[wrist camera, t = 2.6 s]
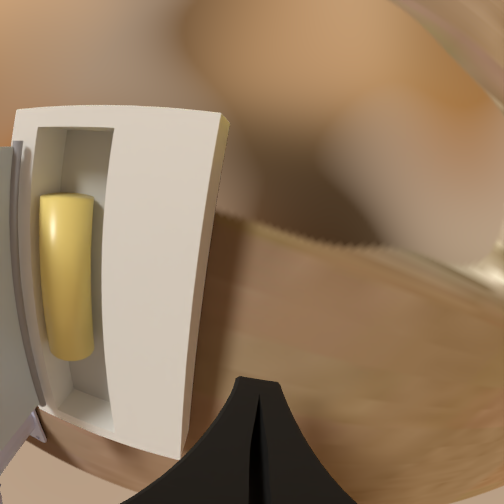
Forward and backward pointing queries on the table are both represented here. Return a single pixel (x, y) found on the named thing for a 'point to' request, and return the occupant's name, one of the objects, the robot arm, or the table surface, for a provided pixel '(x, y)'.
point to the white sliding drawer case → (125, 260)
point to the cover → (13, 310)
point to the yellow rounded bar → (67, 273)
